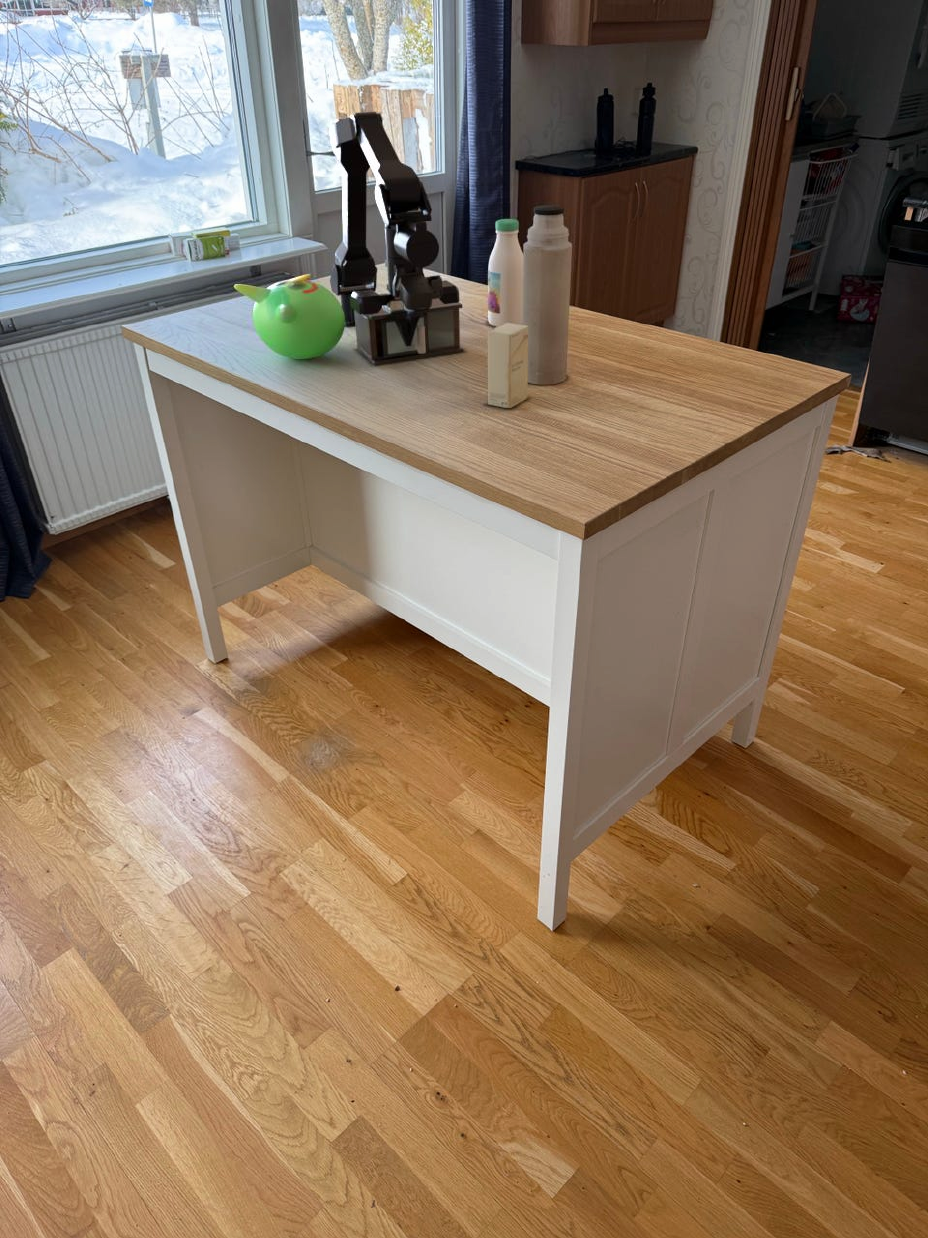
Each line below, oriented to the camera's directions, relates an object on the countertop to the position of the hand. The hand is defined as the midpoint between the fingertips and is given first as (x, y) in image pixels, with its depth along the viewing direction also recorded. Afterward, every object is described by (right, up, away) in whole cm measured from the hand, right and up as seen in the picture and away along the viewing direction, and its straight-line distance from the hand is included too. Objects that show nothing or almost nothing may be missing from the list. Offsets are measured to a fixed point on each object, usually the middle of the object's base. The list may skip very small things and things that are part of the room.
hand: (407, 345), depth 163 cm
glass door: (0, -1, +4) cm, 4 cm away
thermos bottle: (+24, -7, -4) cm, 26 cm away
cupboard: (-1, +3, +11) cm, 11 cm away
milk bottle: (+19, +12, +25) cm, 34 cm away
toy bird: (-21, 0, +9) cm, 23 cm away
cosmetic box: (+18, -14, -13) cm, 26 cm away
